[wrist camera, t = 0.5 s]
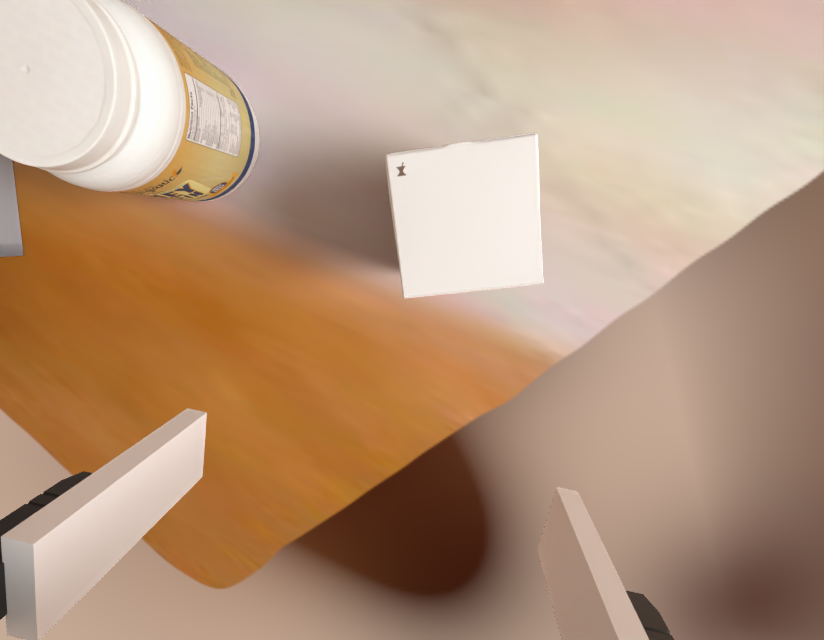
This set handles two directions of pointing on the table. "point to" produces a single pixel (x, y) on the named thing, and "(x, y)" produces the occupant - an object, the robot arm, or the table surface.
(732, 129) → the table surface
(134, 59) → the supplement tub
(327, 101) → the table surface
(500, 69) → the table surface
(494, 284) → the supplement box
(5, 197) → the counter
